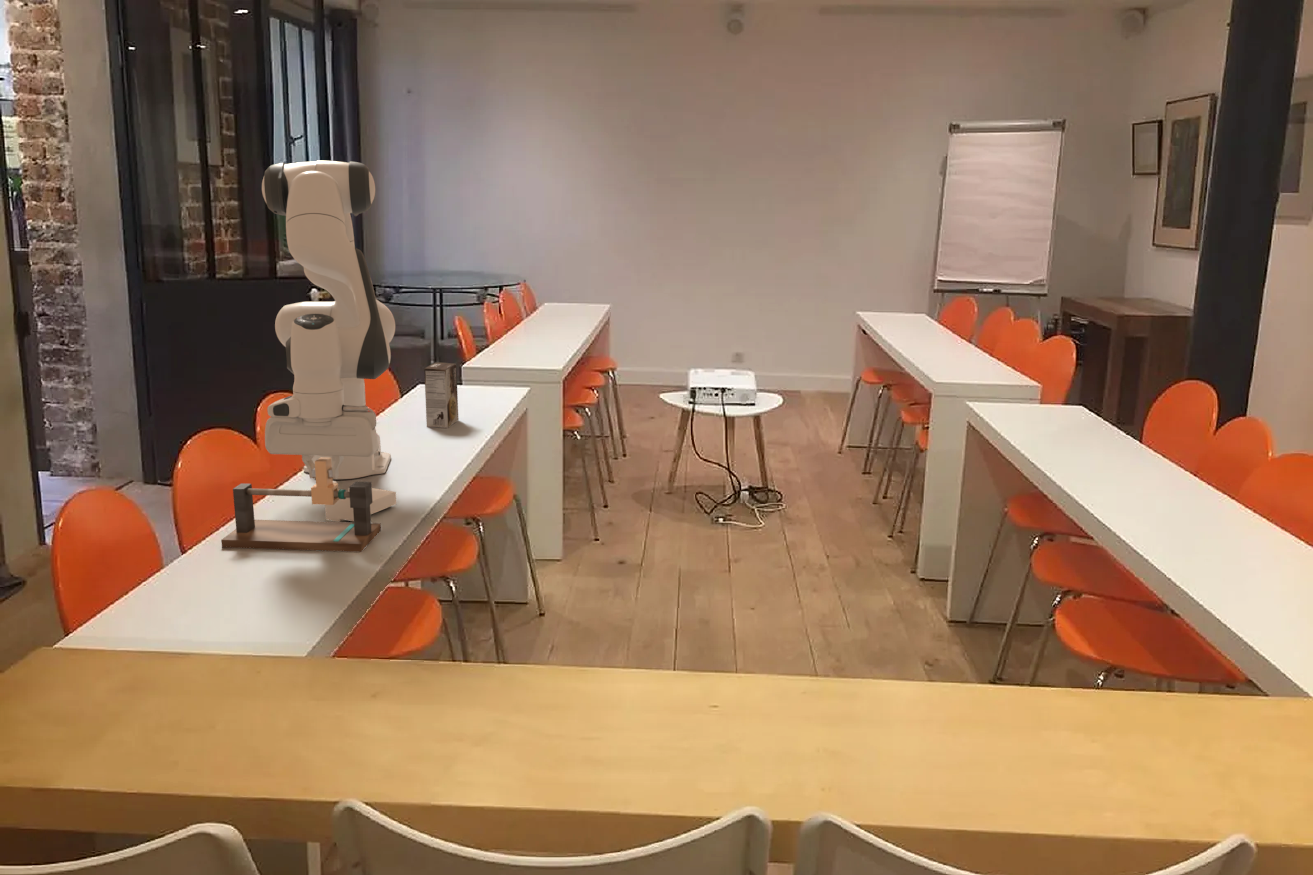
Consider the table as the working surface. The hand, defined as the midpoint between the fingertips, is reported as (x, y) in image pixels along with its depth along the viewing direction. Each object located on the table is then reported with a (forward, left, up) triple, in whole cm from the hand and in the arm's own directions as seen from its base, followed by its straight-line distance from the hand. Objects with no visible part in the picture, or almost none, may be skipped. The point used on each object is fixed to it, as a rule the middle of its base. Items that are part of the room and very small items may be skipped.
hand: (324, 477), depth 204 cm
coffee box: (-96, -3, -12) cm, 97 cm away
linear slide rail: (0, -5, -12) cm, 13 cm away
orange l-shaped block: (0, 0, -5) cm, 5 cm away
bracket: (-17, +1, -13) cm, 21 cm away
